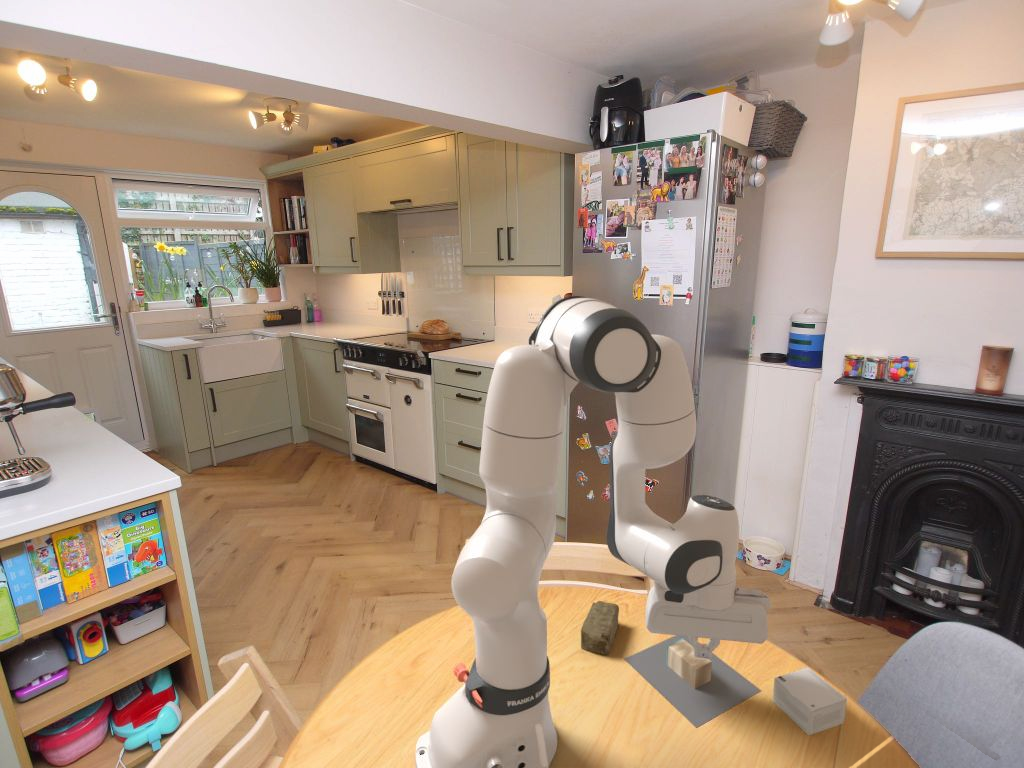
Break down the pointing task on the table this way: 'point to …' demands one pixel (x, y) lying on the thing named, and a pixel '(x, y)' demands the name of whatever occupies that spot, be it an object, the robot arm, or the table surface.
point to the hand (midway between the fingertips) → (702, 655)
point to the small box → (809, 701)
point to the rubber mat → (690, 702)
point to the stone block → (600, 627)
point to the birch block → (688, 663)
